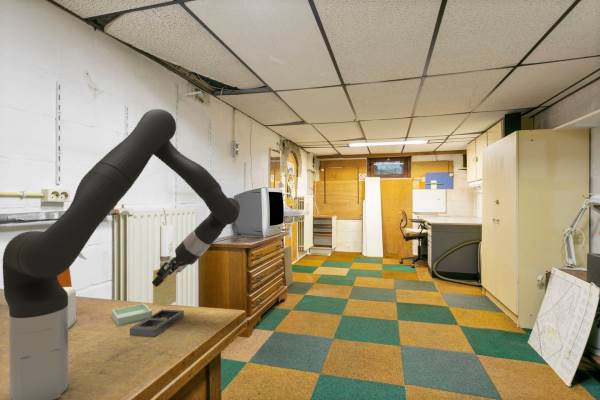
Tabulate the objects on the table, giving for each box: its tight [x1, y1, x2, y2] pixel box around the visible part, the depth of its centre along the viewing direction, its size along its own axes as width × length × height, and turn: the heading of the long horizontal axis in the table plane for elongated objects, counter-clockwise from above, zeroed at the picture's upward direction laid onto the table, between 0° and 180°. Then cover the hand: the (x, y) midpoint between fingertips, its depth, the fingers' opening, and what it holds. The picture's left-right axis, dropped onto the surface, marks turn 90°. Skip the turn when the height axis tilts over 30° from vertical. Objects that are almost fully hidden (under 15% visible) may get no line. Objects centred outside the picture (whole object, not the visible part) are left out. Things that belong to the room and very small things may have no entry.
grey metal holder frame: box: [129, 308, 185, 338], centre depth 98 cm, size 8×16×2 cm, turn 171°
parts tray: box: [111, 303, 153, 327], centre depth 104 cm, size 10×10×2 cm
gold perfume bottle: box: [152, 262, 177, 307], centre depth 101 cm, size 5×5×13 cm
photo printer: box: [63, 286, 77, 329], centre depth 96 cm, size 10×4×12 cm, turn 17°
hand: (159, 282), depth 101 cm, fingers closed on gold perfume bottle, 5 cm apart
